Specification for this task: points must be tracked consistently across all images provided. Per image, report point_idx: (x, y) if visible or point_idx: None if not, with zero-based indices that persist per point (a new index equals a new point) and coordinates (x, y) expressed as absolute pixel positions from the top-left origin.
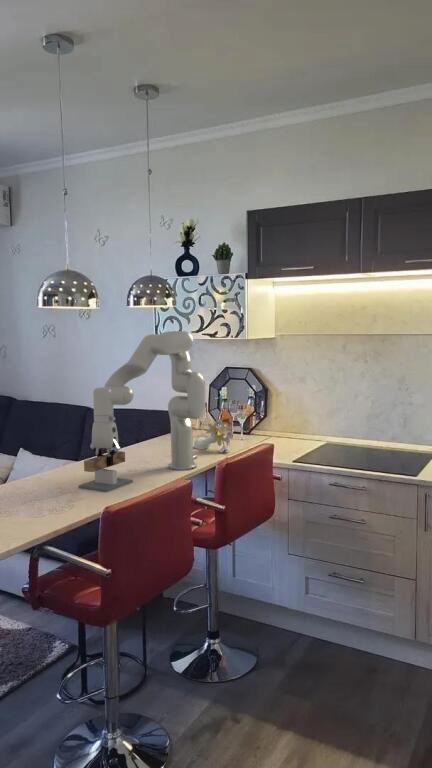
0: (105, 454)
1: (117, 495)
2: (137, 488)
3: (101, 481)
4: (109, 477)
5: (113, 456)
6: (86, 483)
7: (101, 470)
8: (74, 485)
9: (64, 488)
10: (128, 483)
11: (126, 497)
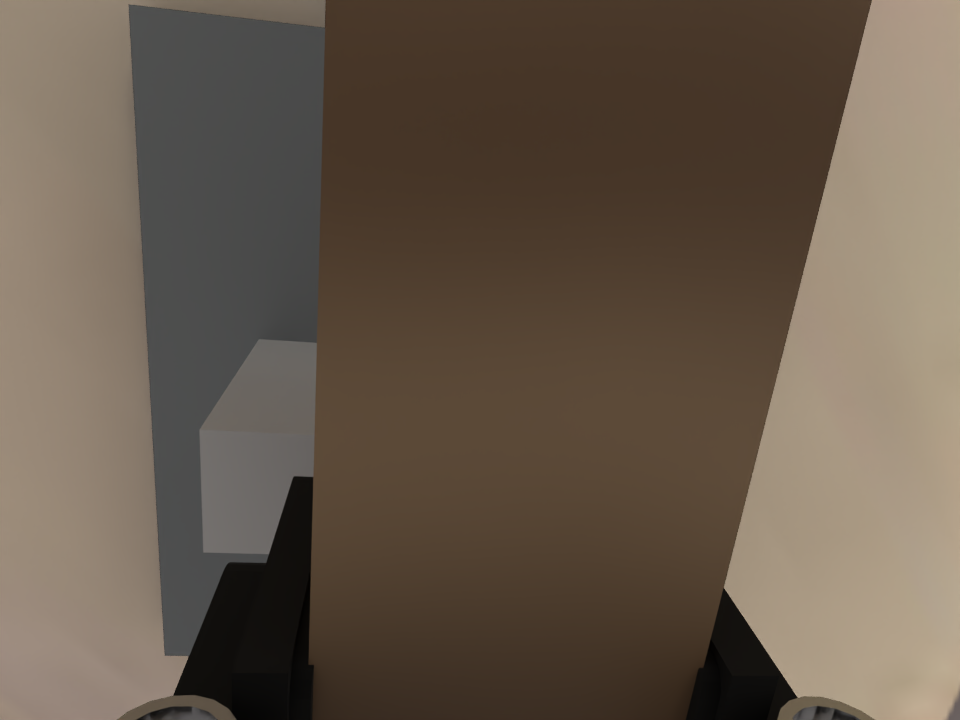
0: (316, 555)
1: (824, 684)
2: (954, 369)
3: None
4: None
5: (708, 534)
6: (197, 544)
7: None
8: (14, 557)
9: (18, 707)
10: None
11: (945, 701)
